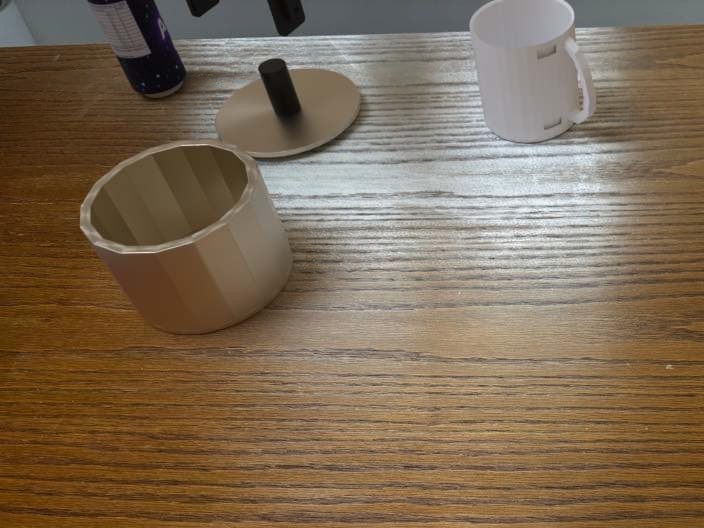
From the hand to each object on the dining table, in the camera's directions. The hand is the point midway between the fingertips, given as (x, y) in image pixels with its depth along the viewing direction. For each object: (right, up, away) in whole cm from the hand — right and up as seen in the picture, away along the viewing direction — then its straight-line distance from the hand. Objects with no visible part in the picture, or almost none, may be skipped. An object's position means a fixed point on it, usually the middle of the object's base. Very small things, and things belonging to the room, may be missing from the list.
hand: (249, 19), depth 75 cm
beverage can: (-14, -1, +14) cm, 20 cm away
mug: (+26, -8, +4) cm, 27 cm away
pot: (-1, -24, -5) cm, 24 cm away
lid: (+1, -6, +8) cm, 10 cm away
